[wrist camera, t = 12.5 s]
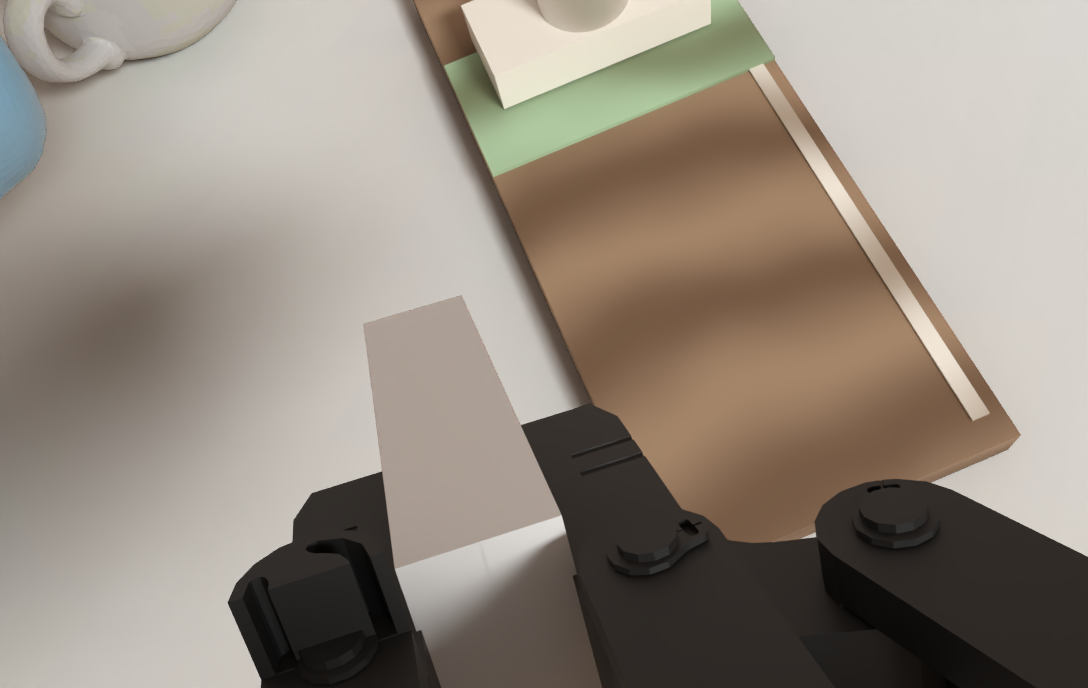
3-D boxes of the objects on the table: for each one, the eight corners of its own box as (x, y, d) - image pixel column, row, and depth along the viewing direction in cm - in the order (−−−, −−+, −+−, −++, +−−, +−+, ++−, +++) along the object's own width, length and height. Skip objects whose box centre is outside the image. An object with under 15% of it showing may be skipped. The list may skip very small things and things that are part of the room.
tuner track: (1007, 449, 32) (1022, 433, 31) (675, 591, 32) (674, 582, 31) (661, -87, 45) (659, -119, 43) (417, 12, 44) (407, -15, 43)
